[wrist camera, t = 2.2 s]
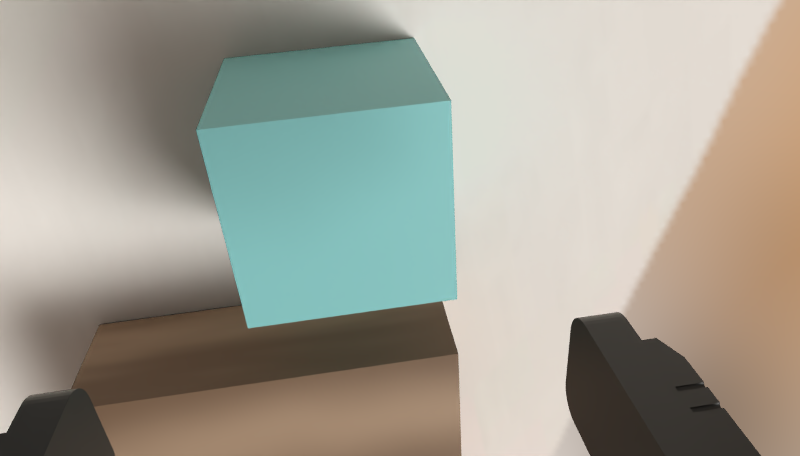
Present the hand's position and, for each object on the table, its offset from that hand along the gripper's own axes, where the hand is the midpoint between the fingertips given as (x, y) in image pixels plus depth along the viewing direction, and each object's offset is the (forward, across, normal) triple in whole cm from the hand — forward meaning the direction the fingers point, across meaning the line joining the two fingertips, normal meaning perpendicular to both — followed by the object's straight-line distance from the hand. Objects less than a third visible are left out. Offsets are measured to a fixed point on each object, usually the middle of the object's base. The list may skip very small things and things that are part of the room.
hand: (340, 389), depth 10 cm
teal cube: (+11, 0, 0) cm, 11 cm away
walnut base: (+11, +3, +12) cm, 16 cm away
